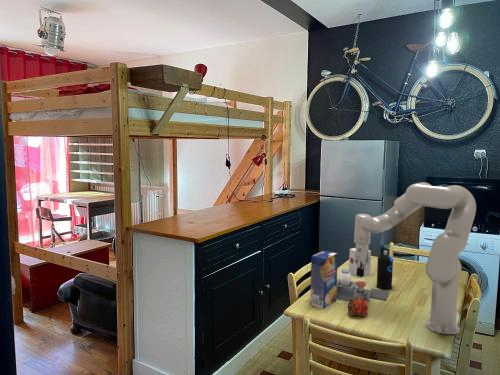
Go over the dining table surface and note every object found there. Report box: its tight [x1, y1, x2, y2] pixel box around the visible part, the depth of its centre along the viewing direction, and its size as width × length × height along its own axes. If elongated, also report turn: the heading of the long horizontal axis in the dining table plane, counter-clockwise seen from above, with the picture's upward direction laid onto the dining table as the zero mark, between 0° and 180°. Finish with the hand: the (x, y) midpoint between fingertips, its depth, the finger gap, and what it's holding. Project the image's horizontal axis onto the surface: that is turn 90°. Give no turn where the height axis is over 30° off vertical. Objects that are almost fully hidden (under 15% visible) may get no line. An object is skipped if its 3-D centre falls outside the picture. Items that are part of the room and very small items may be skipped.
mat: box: [370, 288, 391, 302], centre depth 190 cm, size 12×9×1 cm
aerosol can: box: [375, 250, 394, 291], centre depth 199 cm, size 8×8×20 cm
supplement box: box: [348, 247, 372, 278], centre depth 220 cm, size 9×9×15 cm
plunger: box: [355, 280, 367, 293], centre depth 182 cm, size 5×5×4 cm
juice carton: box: [310, 250, 339, 310], centre depth 180 cm, size 12×8×24 cm, turn 139°
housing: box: [336, 278, 373, 304], centre depth 189 cm, size 15×18×5 cm
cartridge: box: [339, 268, 351, 287], centre depth 192 cm, size 5×5×10 cm
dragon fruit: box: [347, 298, 369, 317], centre depth 168 cm, size 8×8×12 cm
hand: (360, 276), depth 182 cm, fingers closed
